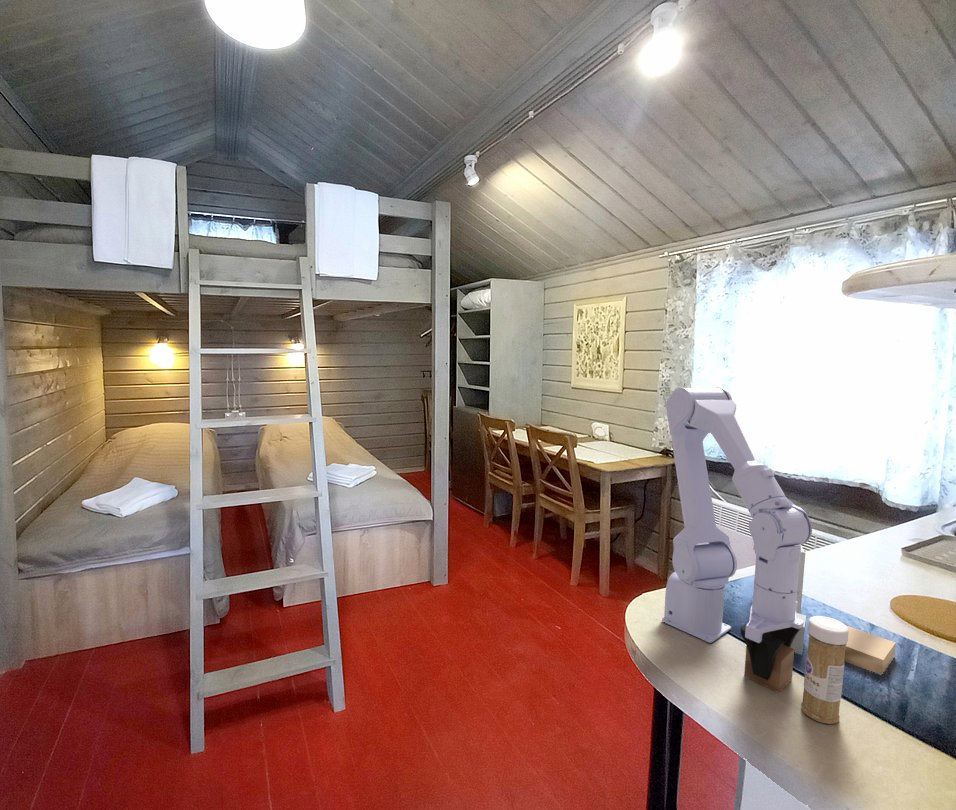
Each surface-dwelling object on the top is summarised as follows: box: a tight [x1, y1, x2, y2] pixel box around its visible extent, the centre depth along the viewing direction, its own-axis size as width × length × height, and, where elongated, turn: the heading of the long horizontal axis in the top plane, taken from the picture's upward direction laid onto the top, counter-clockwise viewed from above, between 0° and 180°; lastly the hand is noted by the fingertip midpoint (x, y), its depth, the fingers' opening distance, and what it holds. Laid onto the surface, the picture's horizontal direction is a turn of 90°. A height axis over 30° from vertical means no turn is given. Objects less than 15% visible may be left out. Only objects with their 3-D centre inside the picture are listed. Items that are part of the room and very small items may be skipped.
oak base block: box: [844, 624, 897, 675], centre depth 87 cm, size 8×8×3 cm
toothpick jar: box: [800, 615, 849, 725], centre depth 71 cm, size 5×5×13 cm
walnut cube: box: [743, 645, 795, 693], centre depth 80 cm, size 5×5×5 cm
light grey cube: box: [791, 613, 807, 656], centre depth 90 cm, size 5×5×5 cm
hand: (768, 669), depth 80 cm, fingers closed on walnut cube, 5 cm apart
